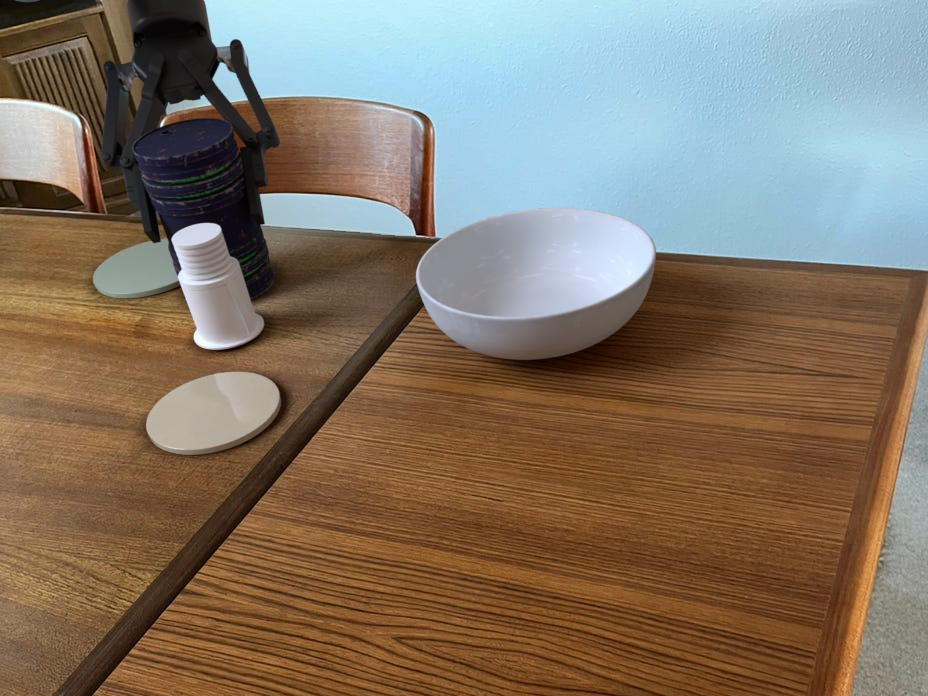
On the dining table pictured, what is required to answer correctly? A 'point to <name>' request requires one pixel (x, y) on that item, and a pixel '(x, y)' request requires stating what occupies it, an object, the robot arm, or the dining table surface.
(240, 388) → the near coaster
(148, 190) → the storage jar
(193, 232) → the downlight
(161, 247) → the far coaster
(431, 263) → the serving bowl
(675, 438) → the dining table surface
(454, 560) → the dining table surface
